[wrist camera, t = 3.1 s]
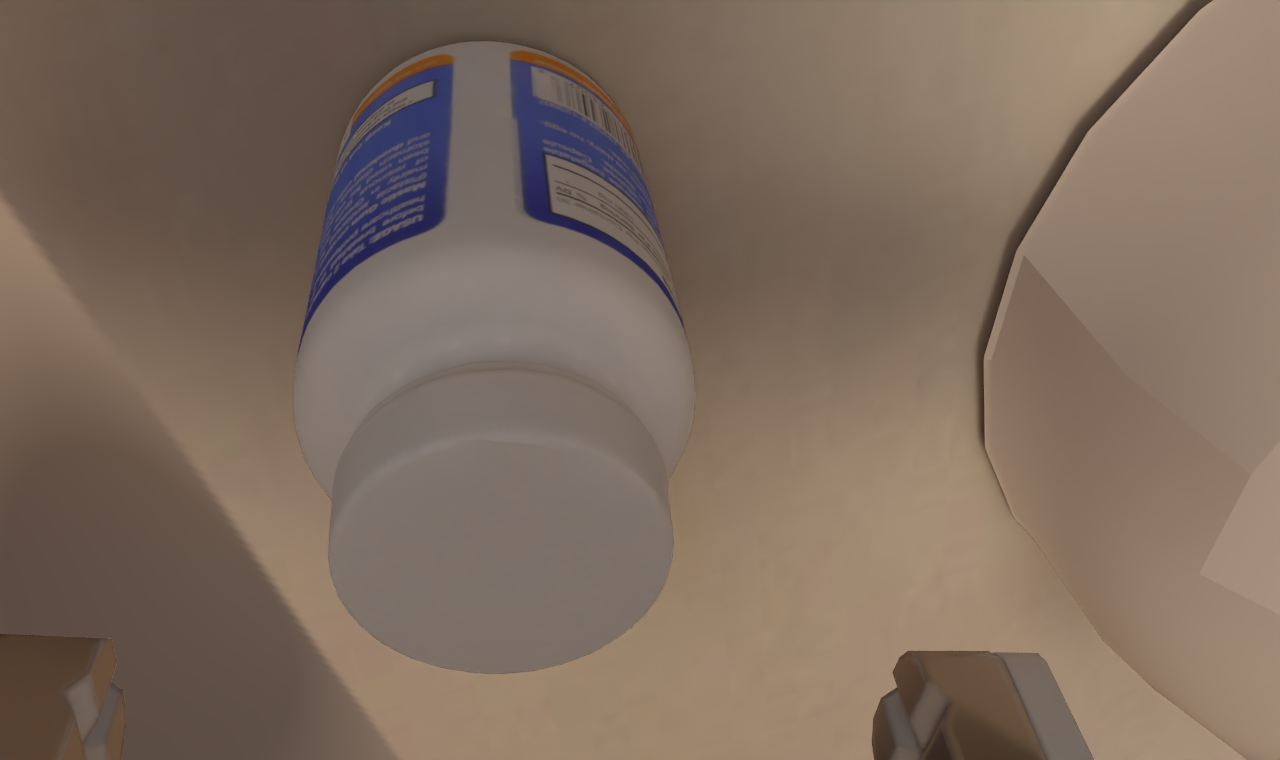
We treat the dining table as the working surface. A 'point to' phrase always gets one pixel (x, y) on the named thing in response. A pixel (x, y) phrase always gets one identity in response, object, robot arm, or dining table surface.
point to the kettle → (1161, 375)
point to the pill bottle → (493, 365)
